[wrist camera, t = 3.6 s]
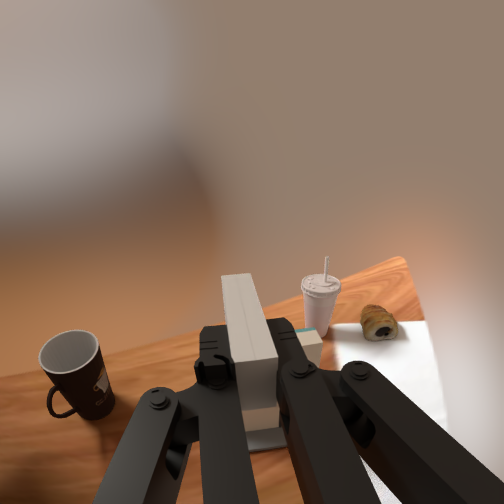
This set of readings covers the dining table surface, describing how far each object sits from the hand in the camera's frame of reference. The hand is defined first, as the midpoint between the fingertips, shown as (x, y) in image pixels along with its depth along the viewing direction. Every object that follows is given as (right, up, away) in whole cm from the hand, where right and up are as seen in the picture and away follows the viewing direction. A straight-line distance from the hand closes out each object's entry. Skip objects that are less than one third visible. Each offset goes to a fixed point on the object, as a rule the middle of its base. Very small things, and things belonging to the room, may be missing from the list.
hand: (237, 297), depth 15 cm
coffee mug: (-22, -19, +15) cm, 33 cm away
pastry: (+23, -12, +32) cm, 42 cm away
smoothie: (+12, -11, +33) cm, 37 cm away
